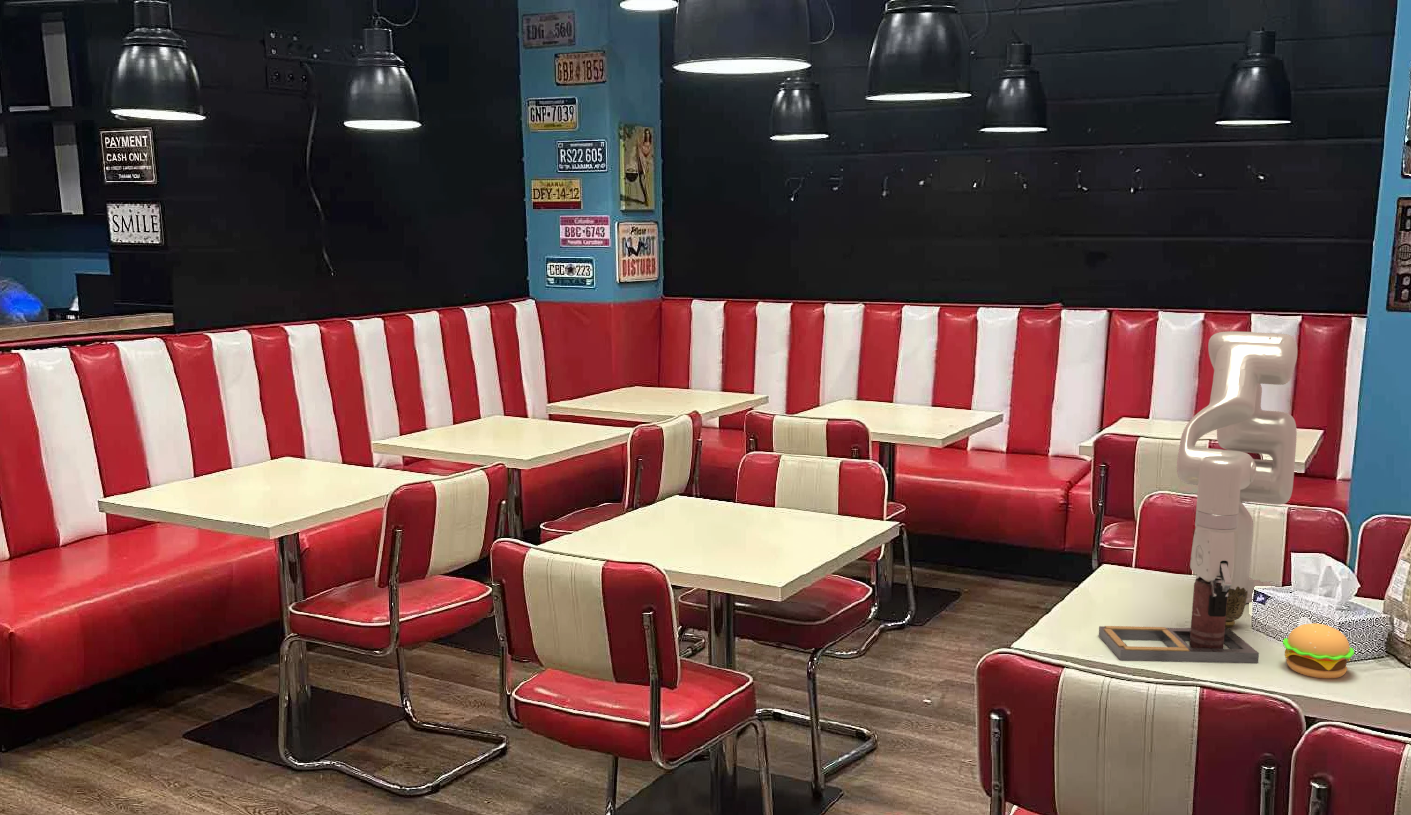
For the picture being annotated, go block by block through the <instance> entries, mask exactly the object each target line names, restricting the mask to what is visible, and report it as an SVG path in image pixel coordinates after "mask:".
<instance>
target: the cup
mask: <svg viewBox="0 0 1411 815" xmlns="http://www.w3.org/2000/svg"><path fill="white" fill-rule="evenodd" d="M1247 594H1248V592H1247V591H1246V590H1245V589H1244V588H1241V589H1240V587H1238V586H1237V587H1236V590H1235V589H1231V588H1230V590H1229V592H1228V597H1227V609H1226V622H1225V629H1230V628H1234V627H1235V625H1236V621H1237V620H1239V619H1240V618H1241V617H1242V615H1243V614H1244V611H1245V607H1246V604H1247V603H1246V599H1247Z"/></svg>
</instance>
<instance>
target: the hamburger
mask: <svg viewBox="0 0 1411 815" xmlns="http://www.w3.org/2000/svg"><path fill="white" fill-rule="evenodd" d="M1282 645H1284V647H1285V650H1284V658H1285V659H1286V663H1287V665H1288V667H1289V668H1290V669H1291V670H1292V671H1294V672H1296V673H1298V674H1300V675H1303V676H1307V677H1311V678H1317V679H1327V680H1328V679H1329V680H1330V679H1338V678H1340V677H1343V676H1344V675H1345V674H1346V673H1347V671H1348V667H1347V664H1348V662H1350V661H1351V657H1353V656H1354V655H1355V650H1354V648H1353V647H1350V643H1349V641H1348V639H1347V637H1346V635H1345V634H1343V632H1341V631H1340V630H1339V629H1337V628H1334V627H1332V626H1330V625H1327V624H1322V623H1316V622H1315V623H1314V622H1313V623H1305V624H1301V625H1299V626H1297V627H1295V628H1293V629H1292V631H1291V632H1290V633H1289V634H1288V637H1284V639H1283V640H1282Z"/></svg>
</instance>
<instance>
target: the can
mask: <svg viewBox="0 0 1411 815" xmlns="http://www.w3.org/2000/svg"><path fill="white" fill-rule="evenodd" d="M1195 580H1196V581H1194V583H1193V596H1192V607H1191V619H1190V620H1191V622H1190V628H1191V633H1190V641H1189V647H1191V648H1211V649H1224V645H1225V643H1224V634H1225V629H1226V628H1225V622H1226V616H1224V617H1214V616H1209V615H1208V607H1209V595H1212V594H1211V582H1207V581H1205V580H1204V579H1202V578H1201V577H1199V578H1197V579H1196V578H1195ZM1215 580H1222V579H1218V578H1215ZM1219 585H1221V584H1216V589H1217V587H1218V586H1219ZM1226 609H1227V606H1226Z"/></svg>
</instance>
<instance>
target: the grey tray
mask: <svg viewBox="0 0 1411 815" xmlns="http://www.w3.org/2000/svg"><path fill="white" fill-rule="evenodd" d="M1190 633H1191V627H1165V626H1128V625H1127V626H1126V625H1125V626H1124V625H1123V626H1122V625H1104V626H1103V625H1102V626H1101V625H1100V626H1099V627H1098V637H1099V638H1100V639H1101V641H1102V642H1103V643H1104V644H1105V645H1106V646H1107V647H1108V649H1110V651H1111V652H1112V653H1113V654H1114V655H1115V657H1117V659H1118V660H1119V661H1139V662H1182V663H1183V662H1186V663H1189V662H1190V663H1191V662H1193V663H1235V664H1236V663H1238V664H1239V663H1242V664H1259V654H1260V653H1259V652H1258V651H1257V650H1256V649H1254V647H1252V646H1251V645H1250V644H1249V643H1247V642H1246V641H1245V640H1243V639H1242V638H1241V637H1240V636H1239V635H1238V634H1236V633H1235V631H1232V629H1230V628H1225V634H1224V645H1226V646H1227V647H1228V648H1223V649H1211V648H1191V646H1190V645H1188V643H1186V642H1190ZM1123 640H1124V641H1125V640H1126V641H1127V640H1128V641H1129V640H1130V641H1135V640H1136V641H1162V642H1163V643H1164V644H1165V645H1166V646H1128V644H1126V642H1124V641H1123Z"/></svg>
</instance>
